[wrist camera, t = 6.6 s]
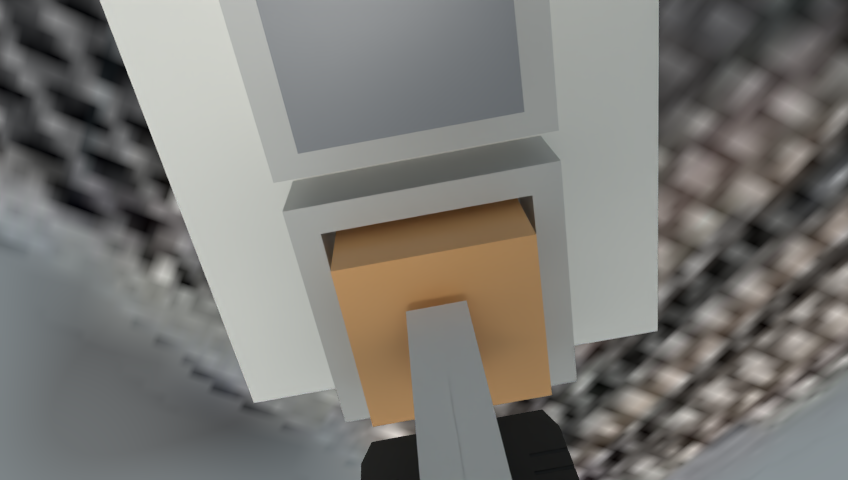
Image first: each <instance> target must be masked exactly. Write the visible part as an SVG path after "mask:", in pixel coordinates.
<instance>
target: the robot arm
mask: <svg viewBox="0 0 848 480" xmlns="http://www.w3.org/2000/svg"><path fill="white" fill-rule="evenodd" d="M406 320H407V332H408V344H409V356H410V367H411V379H412V391H413V403H414V415H415V427H416V434H414V435H409V436H403V437H398V438H392V439H387V440H381V441H376V442H372V443H371V445H370V447H369V449H368V451H367V453H366V455H365V457H364V459H363V461H362V463H361V480H579V477H578V475H577V472H576V469H575V468H574V464H573V461H572V459H571V456H570V453H569V451H568V449H567V446H566V443H565V440H564V438H563V435H562V432H561V430H560V427H559V425H558V424H557V423H555V422H554V421H553V420H552V419H551V418H550V417H549V416H548V415H547V414H546V413H545V412H544V411H543V410H538V411H532V412H527V413H521V414H516V415H510V416H505V417H499V418H496V415H495V411H494V407H493V403H492V399H491V395H490V391H489V387H488V383H487V379H486V375H485V371H484V368H483V364H482V360H481V356H480V352H479V348H478V344H477V340H476V336H475V332H474V328H473V324H472V320H471V316H470V312H469V308H468V305H467V301H466V300H465V301H460V302H455V303H449V304H444V305H438V306H433V307H427V308H422V309H417V310H411V311H406Z"/></svg>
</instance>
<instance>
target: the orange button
mask: <svg viewBox="0 0 848 480" xmlns="http://www.w3.org/2000/svg"><path fill="white" fill-rule="evenodd" d="M330 272H331V276H332V280H333V283H334V287H335V290H336V294H337V298H338V301H339V305H340V309H341V312H342V316H343V319H344V323H345V327H346V330H347V334H348V338H349V341H350V345H351V349H352V352H353V356H354V359H355V363H356V367H357V370H358V374H359V378H360V381H361V385H362V389H363V392H364V396H365V399H366V403H367V407H368V410H369V414H370V418H371V421H372V425H373V427H374V426H380V425H386V424H391V423H397V422H403V421H408V420H414V419H415V415H414V403H413V391H412V379H411V367H410V356H409V344H408V332H407V320H406V311H411V310H417V309H422V308H427V307H433V306H438V305H444V304H449V303H455V302H460V301H465V300H466V301H467V305H468V308H469V312H470V316H471V320H472V324H473V328H474V332H475V336H476V340H477V344H478V348H479V352H480V356H481V360H482V364H483V368H484V371H485V375H486V379H487V383H488V387H489V391H490V395H491V399H492V403H493V405H498V404H504V403H510V402H515V401H521V400H526V399H532V398H538V397H543V396H549V395H552V392H551V381H550V371H549V360H548V350H547V340H546V329H545V319H544V309H543V298H542V288H541V278H540V267H539V257H538V247H537V236H536V233H535V231H534V229H533V227H532V225H531V223H530V221H529V220H528V218H527V216H526V214H525V212H524V210H523V208H522V206H521V204H520V203H519V201H518V199H517V198H515V199H509V200H504V201H498V202H493V203H487V204H482V205H476V206H471V207H465V208H460V209H454V210H449V211H444V212H438V213H433V214H427V215H422V216H416V217H411V218H405V219H400V220H394V221H389V222H383V223H378V224H372V225H367V226H361V227H356V228H350V229H345V230H340V231H336V236H335V243H334V250H333V257H332V264H331V271H330Z"/></svg>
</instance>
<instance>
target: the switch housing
mask: <svg viewBox="0 0 848 480" xmlns="http://www.w3.org/2000/svg"><path fill="white" fill-rule="evenodd" d="M100 2H101V5H102V7H103V10H104V12H105V15H106V18H107V20H108V23H109V26H110V28H111V31H112V33H113V36H114V39H115V41H116V44H117V46H118V49H119V52H120V54H121V57H122V59H123V62H124V65H125V67H126V70H127V73H128V75H129V78H130V80H131V83H132V86H133V88H134V91H135V93H136V96H137V99H138V101H139V104H140V106H141V109H142V112H143V114H144V117H145V120H146V122H147V125H148V127H149V130H150V133H151V135H152V138H153V140H154V143H155V146H156V148H157V151H158V153H159V156H160V159H161V161H162V164H163V167H164V169H165V172H166V174H167V177H168V180H169V182H170V185H171V187H172V190H173V193H174V195H175V198H176V200H177V203H178V206H179V208H180V211H181V214H182V216H183V219H184V221H185V224H186V227H187V229H188V232H189V234H190V237H191V240H192V242H193V245H194V247H195V250H196V253H197V255H198V258H199V261H200V263H201V266H202V268H203V271H204V274H205V276H206V279H207V281H208V284H209V287H210V289H211V292H212V294H213V297H214V300H215V302H216V305H217V308H218V310H219V313H220V315H221V318H222V321H223V323H224V326H225V328H226V331H227V334H228V336H229V339H230V341H231V344H232V347H233V349H234V352H235V355H236V357H237V360H238V362H239V365H240V368H241V370H242V373H243V375H244V378H245V381H246V383H247V386H248V388H249V391H250V394H251V396H252V399H253V402H254V403H256V402H262V401H268V400H273V399H279V398H284V397H290V396H296V395H301V394H307V393H312V392H318V391H324V390H329V389H336V392H337V395H338V399H339V402H340V405H341V409H342V412H343V415H344V419H345V422H350V421H356V420H362V419H367V418H370V414H369V410H368V407H367V403H366V399H365V396H364V392H363V389H362V385H361V381H360V378H359V374H358V370H357V367H356V363H355V359H354V356H353V352H352V349H351V345H350V341H349V338H348V334H347V330H346V327H345V323H344V319H343V316H342V312H341V309H340V305H339V301H338V298H337V294H336V290H335V287H334V283H333V280H332V276H331V272H330V271H331V264H332V257H333V250H334V243H335V236H336V231H340V230H345V229H350V228H356V227H361V226H367V225H372V224H378V223H383V222H389V221H394V220H400V219H405V218H411V217H416V216H422V215H427V214H433V213H438V212H444V211H449V210H454V209H460V208H465V207H471V206H476V205H482V204H487V203H493V202H498V201H504V200H509V199H515V198H517V199H518V201H519V203H520V204H521V206H522V208H523V210H524V212H525V214H526V216H527V218H528V220H529V221H530V223H531V225H532V227H533V229H534V231H535V233H536V236H537V247H538V257H539V267H540V278H541V288H542V298H543V309H544V319H545V329H546V340H547V350H548V360H549V371H550V381H551V386H553V385H558V384H564V383H570V382H575V381H577V377H576V363H575V349H574V346H575V345H581V344H587V343H592V342H598V341H603V340H609V339H615V338H620V337H626V336H631V335H637V334H643V333H648V332H654V331H658V90H659V0H514V8H515V19H516V29H517V39H518V50H519V60H520V71H521V81H522V91H523V102H524V112H522V113H516V114H511V115H505V116H500V117H495V118H489V119H484V120H478V121H473V122H468V123H462V124H457V125H451V126H446V127H441V128H435V129H430V130H424V131H419V132H414V133H408V134H403V135H397V136H392V137H386V138H381V139H376V140H370V141H365V142H359V143H354V144H349V145H343V146H338V147H332V148H327V149H322V150H316V151H311V152H305V153H300V154H298V152H297V149H296V145H295V141H294V138H293V134H292V131H291V127H290V123H289V120H288V116H287V112H286V109H285V105H284V101H283V98H282V94H281V91H280V87H279V83H278V80H277V76H276V72H275V69H274V65H273V61H272V58H271V54H270V51H269V47H268V43H267V40H266V36H265V32H264V29H263V25H262V21H261V18H260V14H259V11H258V7H257V3H256V0H100Z"/></svg>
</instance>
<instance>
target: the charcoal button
mask: <svg viewBox="0 0 848 480" xmlns="http://www.w3.org/2000/svg"><path fill="white" fill-rule="evenodd" d="M256 3H257V7H258V11H259V14H260V18H261V21H262V25H263V29H264V32H265V36H266V40H267V43H268V47H269V51H270V54H271V58H272V61H273V65H274V69H275V72H276V76H277V80H278V83H279V87H280V91H281V94H282V98H283V101H284V105H285V109H286V112H287V116H288V120H289V123H290V127H291V131H292V134H293V138H294V141H295V145H296V149H297V152H298V154H300V153H305V152H311V151H316V150H322V149H327V148H332V147H338V146H343V145H349V144H354V143H359V142H365V141H370V140H376V139H381V138H386V137H392V136H397V135H403V134H408V133H414V132H419V131H424V130H430V129H435V128H441V127H446V126H451V125H457V124H462V123H468V122H473V121H478V120H484V119H489V118H495V117H500V116H505V115H511V114H516V113H522V112H524V102H523V91H522V81H521V71H520V60H519V50H518V39H517V29H516V19H515V8H514V0H256Z"/></svg>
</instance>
